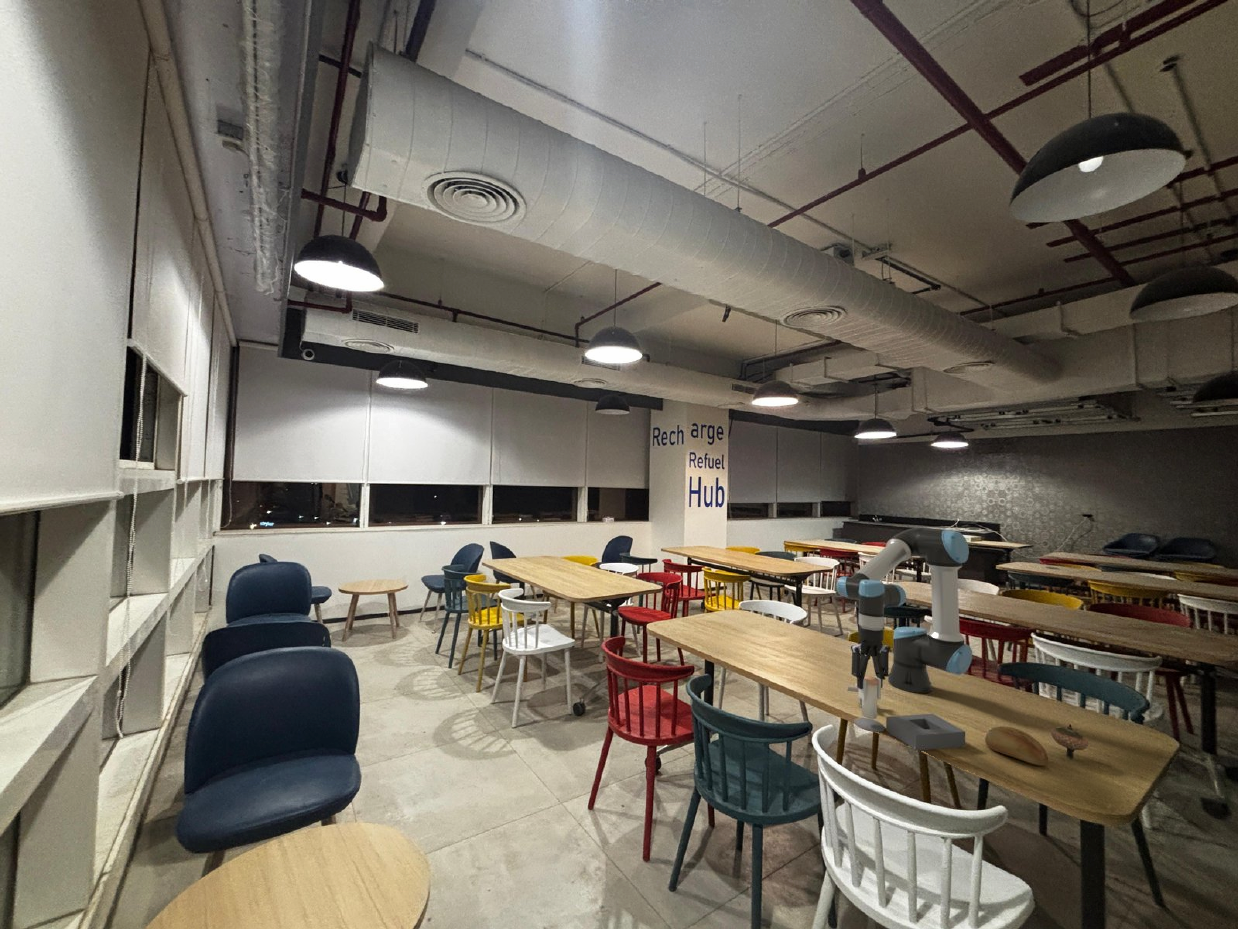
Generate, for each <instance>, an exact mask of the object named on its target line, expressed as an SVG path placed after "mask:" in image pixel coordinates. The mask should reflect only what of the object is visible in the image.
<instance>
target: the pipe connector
mask: <svg viewBox="0 0 1238 929" xmlns="http://www.w3.org/2000/svg"><path fill="white" fill-rule="evenodd" d="M854 685H855V686H853V685H846V688H845V690H846V692H854V693H858V691H859V688H858V687H857V682H856V683H855V684H854ZM857 704H858V705H860V706H862V699H861V698H860V697H858V703H857Z"/></svg>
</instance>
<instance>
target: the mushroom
mask: <svg viewBox="0 0 1238 929" xmlns="http://www.w3.org/2000/svg"><path fill="white" fill-rule="evenodd" d="M864 679H865V680H866V700H863V699H862V705H861V715H862V716H863V718H868V719H872V720H875V719H877V718H878V699H877V685H878V679H877V678H875V677H873V676H872V675H866V674H865V677H864Z"/></svg>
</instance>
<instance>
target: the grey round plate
mask: <svg viewBox="0 0 1238 929" xmlns="http://www.w3.org/2000/svg"><path fill="white" fill-rule="evenodd" d="M853 722H854V724H855V725H856V726H857V728H860V729H862V730H864V731H867V732H870V733H882V732H884V731H886V726H884V724H883V723H881V722H880V721H877V720H875V719H870V718H867V717H857V718H854V721H853ZM866 727H869V728H866Z"/></svg>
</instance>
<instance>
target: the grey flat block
mask: <svg viewBox="0 0 1238 929" xmlns="http://www.w3.org/2000/svg"><path fill="white" fill-rule="evenodd" d="M885 720H886V721H885V722H886V723H885V732H887V733H889V734H890V735H892V736H893V737H894V738H897V739H898V740H899V741H901V743H902V742H903V743H904V744H905V743H906V744H905V745H907V744H908V745H910V746H909V747H910V748H911V749H913V750H914V751H918V752H919V751H926V750H927V751H928V750H929V751H930V750H937V749H951V748H962V747H963V746H964V747H966V731H965V730H964V729H962V728H959V727H958V726H956V725H954V724H953V723H951V722H948V721H947V720H945V719H943V718H941V717H940V716H937V715H936V714H934V713H922V714H910V715H909V714H908V715H907V714H906V715H892V716H890V715H889V716H885ZM908 745H907V746H908ZM914 747H915V748H914ZM950 747H951V748H950Z"/></svg>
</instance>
